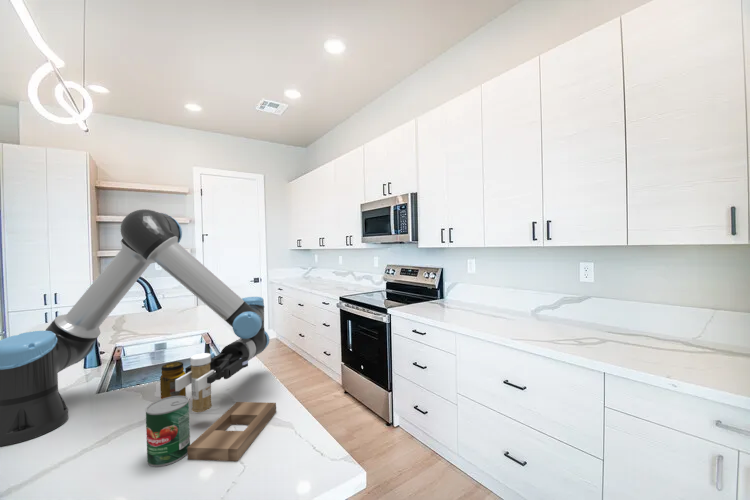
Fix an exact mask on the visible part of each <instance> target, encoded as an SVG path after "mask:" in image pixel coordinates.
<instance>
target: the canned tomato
mask: <svg viewBox="0 0 750 500" xmlns="http://www.w3.org/2000/svg"><path fill="white" fill-rule="evenodd" d="M189 399H190V398H189V397H187V395H186V396H172V397H167V398H163V399H161V398H160V399H158V400H156V401H154V402H151V403H150V404H149V405H148V406H147V407H146V408H145V426H146V427H145V428H146V430H145V431H146V434H145V435H146V457H147V458H146V462H147V465H149V466H151V467H152V468H153V467H155V468H156V467H164V466H169V465H173V464H174V463H176V462H178V461H180V460H182V459H183V458H184V457H186V456H188V452H187V447H188V446H190V445H191V436H190V405H189V403H190V400H189Z"/></svg>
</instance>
